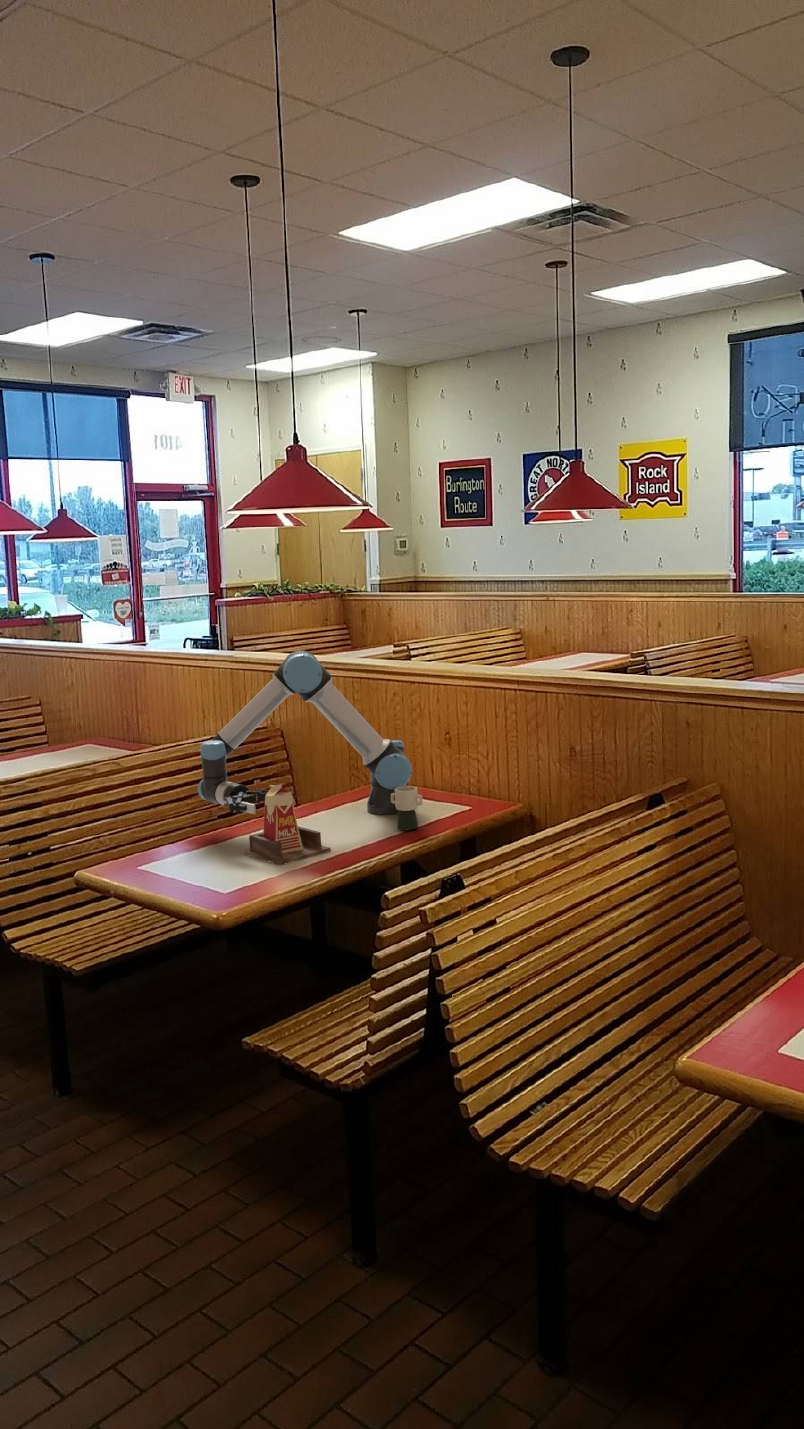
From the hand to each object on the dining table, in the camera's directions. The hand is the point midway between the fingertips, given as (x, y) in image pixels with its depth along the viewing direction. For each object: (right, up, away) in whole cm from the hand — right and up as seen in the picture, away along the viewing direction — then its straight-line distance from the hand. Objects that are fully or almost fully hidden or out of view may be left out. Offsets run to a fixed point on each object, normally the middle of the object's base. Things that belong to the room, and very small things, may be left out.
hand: (273, 804), depth 324 cm
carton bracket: (+4, -14, -2) cm, 15 cm away
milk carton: (+3, -13, -1) cm, 13 cm away
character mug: (+40, -9, +17) cm, 44 cm away
